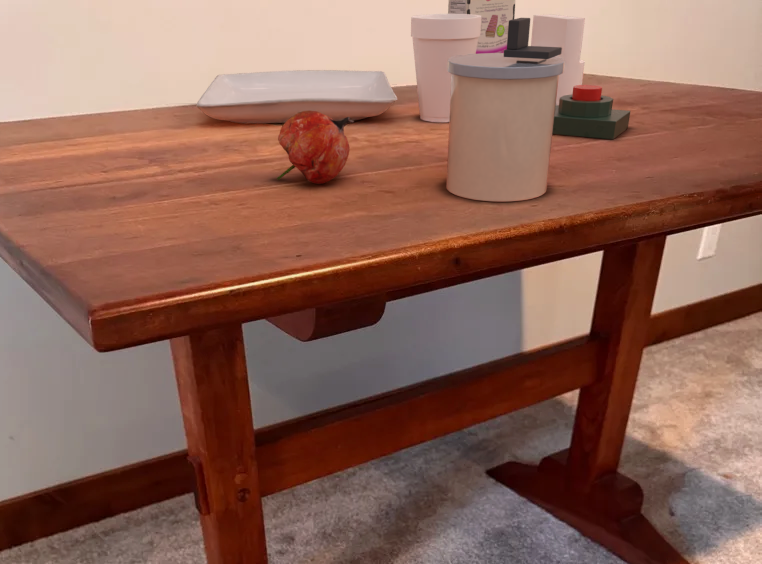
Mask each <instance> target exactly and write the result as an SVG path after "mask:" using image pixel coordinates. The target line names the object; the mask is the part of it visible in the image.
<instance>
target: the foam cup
mask: <svg viewBox="0 0 762 564" xmlns="http://www.w3.org/2000/svg"><path fill="white" fill-rule="evenodd" d="M480 32H481V16H480V15H472V14H448V13H427V14H416V15H412V16H411V17H410V37H412V48H413V58H414V67H415V78H416V80H415V81H416V89H417V97H418V98H417V100H418V109H419V115H420V116H419V117H420V120H422V121H425V122H431V123H449V116H450V94H451V73H449V72H448V70H447V66H448V59H449V58H452V57H455V56H460V55H468V54H476V49H477V43H478V37H480Z"/></svg>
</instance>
